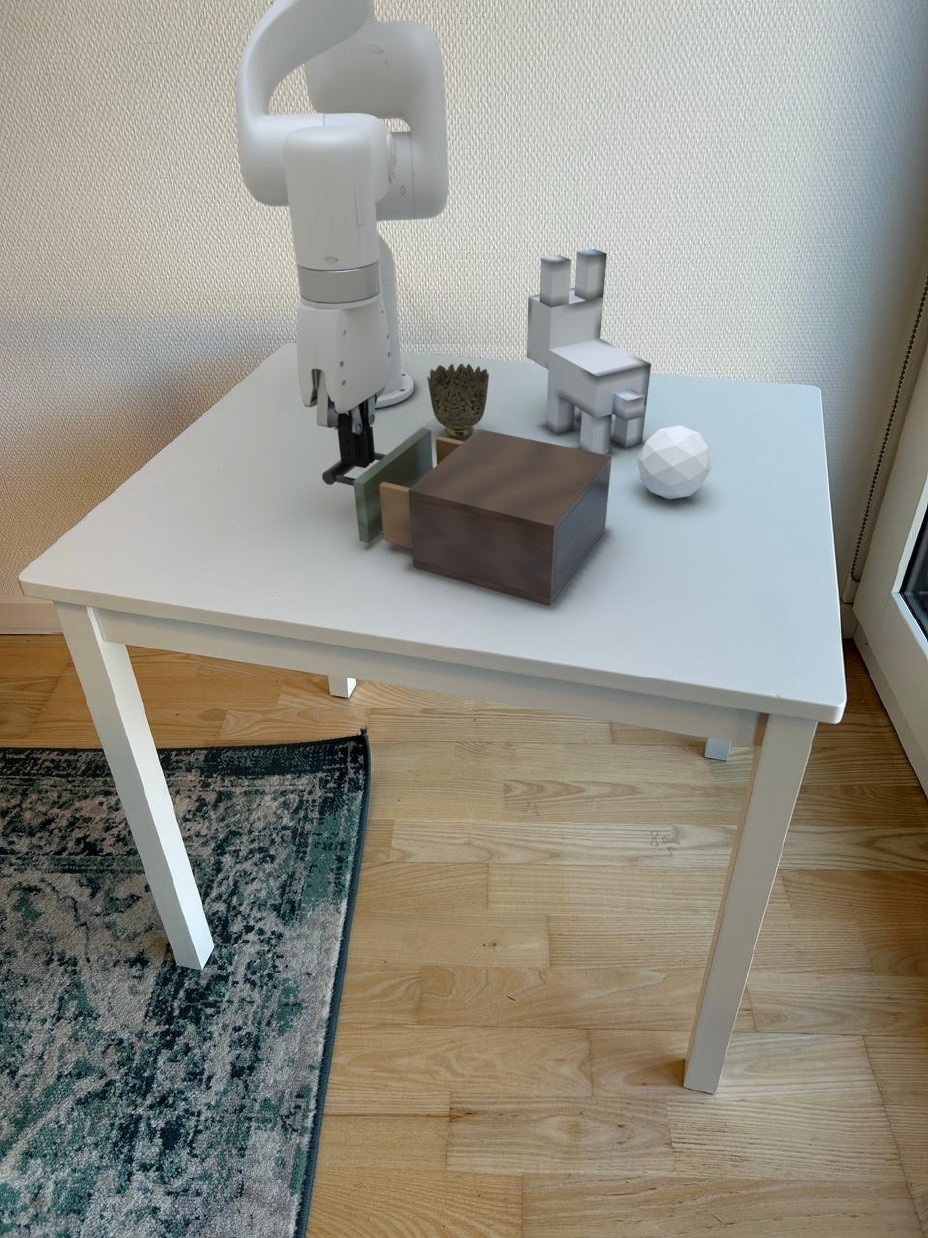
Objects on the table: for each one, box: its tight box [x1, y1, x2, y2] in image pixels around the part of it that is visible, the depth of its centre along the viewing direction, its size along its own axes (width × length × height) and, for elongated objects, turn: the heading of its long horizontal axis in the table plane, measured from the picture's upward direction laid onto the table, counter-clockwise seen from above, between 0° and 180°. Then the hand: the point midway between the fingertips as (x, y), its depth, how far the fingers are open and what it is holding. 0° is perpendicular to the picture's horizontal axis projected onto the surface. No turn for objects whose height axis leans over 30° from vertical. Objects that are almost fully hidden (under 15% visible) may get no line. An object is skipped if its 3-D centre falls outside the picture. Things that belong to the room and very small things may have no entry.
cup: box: [426, 363, 490, 441], centre depth 106 cm, size 8×7×8 cm
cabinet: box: [408, 428, 612, 606], centre depth 85 cm, size 15×15×9 cm
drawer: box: [321, 427, 465, 549], centre depth 88 cm, size 20×13×7 cm
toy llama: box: [526, 248, 652, 455], centre depth 103 cm, size 8×18×20 cm, turn 29°
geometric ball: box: [636, 424, 713, 500], centre depth 93 cm, size 8×8×8 cm
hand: (358, 462), depth 90 cm, fingers closed
